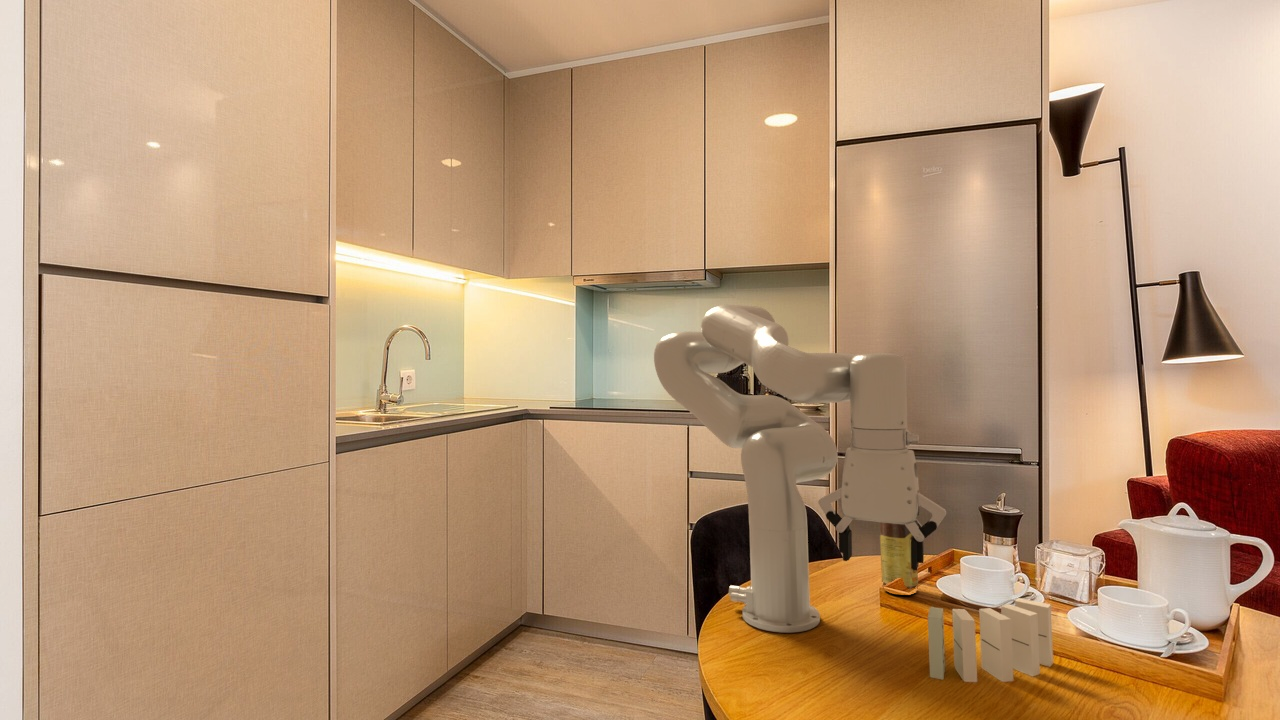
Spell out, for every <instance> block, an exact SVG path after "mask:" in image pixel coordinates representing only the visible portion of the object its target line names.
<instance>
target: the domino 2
mask: <svg viewBox="0 0 1280 720" xmlns="http://www.w3.org/2000/svg"><path fill="white" fill-rule="evenodd" d="M978 611H979V612H978V613H979V633H980V634H979V637H980V639H979V640H980V659H981V661H980V662H981V667H980V668H981V669H982V670H984V671H985V672H987V673H988V674H990V675H991V676H992V677H994V678H995V679H997V680H999V681H1000V682H1002V683H1006V682H1013V681H1014V669H1013V657H1012V633H1011V619H1010V618H1008V617H1006V616H1004V615H1002V614H1001V612H998V611H997V610H994V609H992V608H990V607H987V608H986V607H985V608H979V609H978Z"/></svg>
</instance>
